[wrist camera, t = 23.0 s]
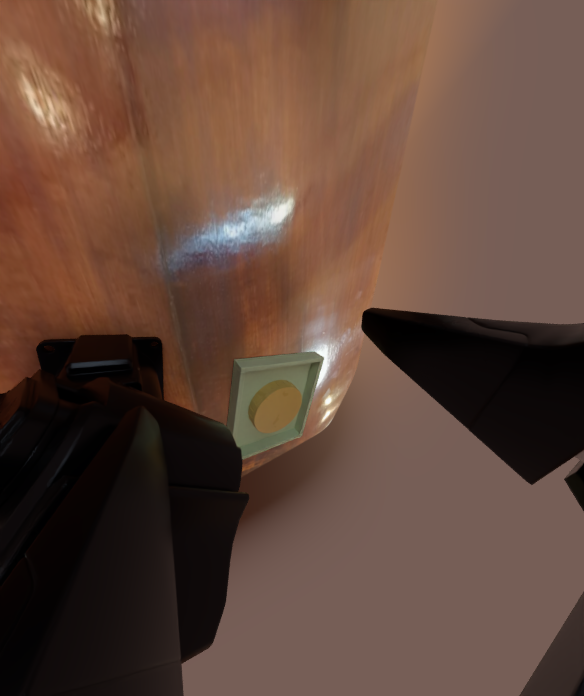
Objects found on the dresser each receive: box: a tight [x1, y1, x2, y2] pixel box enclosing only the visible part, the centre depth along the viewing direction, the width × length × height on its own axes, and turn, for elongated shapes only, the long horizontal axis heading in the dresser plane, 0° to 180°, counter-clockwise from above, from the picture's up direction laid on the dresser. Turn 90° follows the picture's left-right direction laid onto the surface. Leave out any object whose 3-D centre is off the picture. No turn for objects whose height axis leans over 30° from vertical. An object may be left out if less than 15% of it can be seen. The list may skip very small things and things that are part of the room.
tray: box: [227, 352, 324, 460], centre depth 27 cm, size 13×11×2 cm
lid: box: [248, 380, 302, 433], centre depth 26 cm, size 7×7×2 cm
